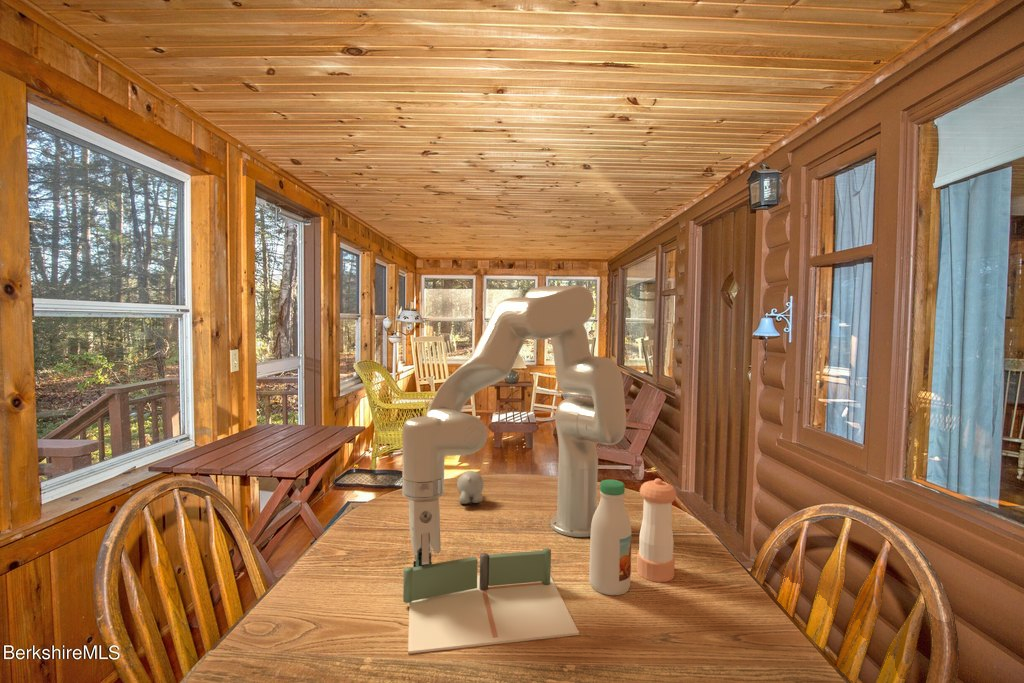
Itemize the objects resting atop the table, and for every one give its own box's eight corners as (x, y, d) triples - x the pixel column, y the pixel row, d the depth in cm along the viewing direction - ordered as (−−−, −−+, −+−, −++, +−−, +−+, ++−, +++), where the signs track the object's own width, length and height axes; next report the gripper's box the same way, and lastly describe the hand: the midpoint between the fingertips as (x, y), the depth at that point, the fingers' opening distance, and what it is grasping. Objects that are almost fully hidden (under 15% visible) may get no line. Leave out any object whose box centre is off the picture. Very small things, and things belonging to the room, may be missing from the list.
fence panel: (474, 584, 91) (475, 555, 91) (477, 589, 90) (477, 559, 89) (402, 598, 86) (402, 567, 86) (404, 603, 85) (404, 572, 84)
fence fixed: (549, 582, 94) (549, 547, 94) (551, 586, 93) (552, 551, 92) (478, 588, 92) (479, 553, 91) (480, 593, 90) (480, 557, 90)
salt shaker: (664, 586, 93) (667, 488, 92) (630, 572, 98) (632, 479, 97) (680, 572, 99) (683, 479, 98) (647, 559, 104) (649, 470, 103)
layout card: (546, 570, 98) (547, 568, 98) (578, 634, 79) (579, 631, 79) (410, 582, 93) (410, 579, 93) (408, 654, 74) (408, 650, 74)
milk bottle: (606, 601, 88) (609, 492, 87) (581, 580, 95) (583, 479, 94) (638, 590, 92) (642, 486, 91) (612, 571, 99) (615, 473, 98)
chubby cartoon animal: (481, 503, 140) (481, 473, 142) (484, 503, 128) (484, 469, 131) (455, 504, 139) (456, 473, 141) (457, 503, 127) (457, 470, 130)
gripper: (449, 498, 83) (448, 603, 84) (438, 471, 97) (437, 561, 98) (404, 502, 81) (403, 609, 82) (400, 474, 95) (399, 565, 96)
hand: (422, 582), depth 90 cm, fingers closed
